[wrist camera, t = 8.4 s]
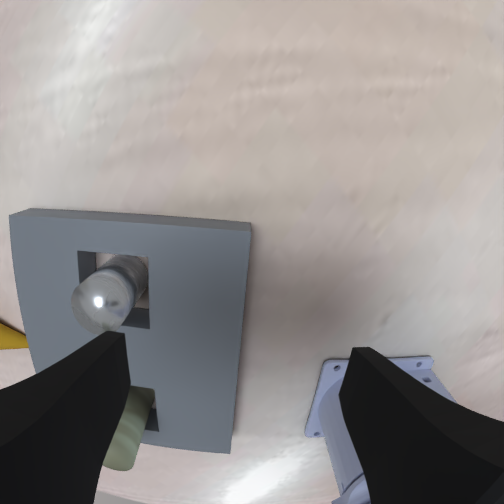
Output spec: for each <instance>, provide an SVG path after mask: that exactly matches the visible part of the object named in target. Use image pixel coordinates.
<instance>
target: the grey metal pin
mask: <svg viewBox="0 0 504 504" xmlns="http://www.w3.org/2000/svg"><path fill="white" fill-rule="evenodd" d="M148 279H149V278H148V272H147V269H146V267H145V265H144V264H143V262H142V261H141V260H140V259H139V258H137V257H136V256H131V255H120V254H117V255H115V256H113V257H112V258H111V259H109V260H108V261H107V262H106V263H104V264H103V265H102V266H101V267H100V268H98V269H97V270H96V271H95V272H94V273H93V274H91V275H90V276H89V277H88V278H87V279H85V280H84V281H83V282H82V283H81V284H80V285H78V286H77V287H76V288H75V290H74V291H73V293H72V297H71V308H72V311H73V314H74V316H75V318H76V320H77V321H78V322H79V324H80V325H81V326H82V327H83V328H85V329H86V330H87V331H89V332H91V333H93V334H96V335H100V334H102V333H104V332H106V331H114V332H116V331H117V330H118V329H119V327H120V326H121V324H122V323H123V321H124V320H125V318H126V317H127V315H128V314H129V312H130V311H131V310H132V308H133V307H134V305H135V304H136V302H137V301H138V299H139V298H140V296H141V295H142V293H143V292H144V291H145V289H146V287H147V285H148Z"/></svg>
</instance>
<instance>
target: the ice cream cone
mask: <svg viewBox="0 0 504 504" xmlns="http://www.w3.org/2000/svg"><path fill="white" fill-rule="evenodd" d="M19 348H29V346H28V342H27V338H26V336H25V335H23V334H21V333H19V332H17V331H15V330H13V329H11V328H9V327H7V326H5V325H3V324H1V323H0V350H2V349H19Z"/></svg>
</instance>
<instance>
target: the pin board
mask: <svg viewBox="0 0 504 504" xmlns="http://www.w3.org/2000/svg"><path fill="white" fill-rule="evenodd" d="M9 225H10V238H11V249H12V259H13V267H14V274H15V281H16V288H17V294H18V300H19V305H20V310H21V315H22V320H23V325H24V329H25V334H26V338H27V342H28V346H29V350H30V354H31V357H32V361H33V364H34V368H35V371H36V374H37V373H39V372H41V371H43V370H44V369H46V368H48V367H50V366H51V365H53V364H55V363H56V362H58V361H60V360H62V359H63V358H65V357H66V356H68V355H70V354H71V353H73V352H74V351H76V350H77V349H79V348H80V347H82V346H83V345H85V344H86V343H88V342H89V341H91V340H93V339H94V338H96V337H97V336H99V335H96V334H93V333H91V332H89V331H87V330H86V329H85V328H83V327H82V326H81V325H80V324H79V322H78V321H77V320H76V318H75V316H74V314H73V311H72V308H71V297H72V293H73V291H74V290H75V288H76V287H77V286H78V285H80V284H81V283H82V282H83V281H84V280H85V279H87V278H88V277H89V276H90V275H91V274H93V273H94V272H95V271H96V262H95V252H99V253H110V254H120V255H131V256H142V257H148V272H149V309H140V308H132V310H131V311H130V312H129V314H128V315H127V317H126V318H125V320H124V321H123V323H122V324H121V326H120V327H119V329H118V330H117V331H116V332H121V333H125V339H126V348H127V357H128V365H129V372H130V379H131V385H133V386H139V387H145V388H151V389H154V390H155V400H156V409H154V408H151V410H150V413H149V416H148V419H147V423H146V426H145V429H144V432H143V436H142V439H141V442H140V443H144V444H150V445H156V446H162V447H169V448H176V449H184V450H192V451H202V452H212V453H226V454H230V451H231V440H232V429H233V418H234V408H235V397H236V387H237V376H238V366H239V355H240V345H241V334H242V324H243V313H244V303H245V292H246V282H247V272H248V261H249V251H250V241H251V225H250V223H249V222H238V221H226V220H214V219H201V218H188V217H174V216H160V215H145V214H130V213H113V212H95V211H76V210H55V209H31V208H30V209H27V210H24V211H21V212H17V213H14V214H11V215H9Z"/></svg>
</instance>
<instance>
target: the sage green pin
mask: <svg viewBox="0 0 504 504" xmlns="http://www.w3.org/2000/svg"><path fill="white" fill-rule="evenodd" d="M154 398H155V392H154V389H151V388H145V387H139V386H133V385H130V389H129V393H128V397H127V401H126V405H125V409H124V411H123V414H122V416H121V419H120V421H119V424H118V426H117V429H116V431H115V434H114V436H113V439H112V441H111V444H110V446H109V449H108V451H107V454H106V456H105V459H104V462H103V466H105V467H108V468H110V469H113V470H117V471H127V470H130V469H132V467H133V465H134V462H135V459H136V455H137V452H138V449H139V445H140V442H141V439H142V436H143V432H144V429H145V426H146V423H147V419H148V416H149V413H150V410H151V407H152V404H153V401H154Z"/></svg>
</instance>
